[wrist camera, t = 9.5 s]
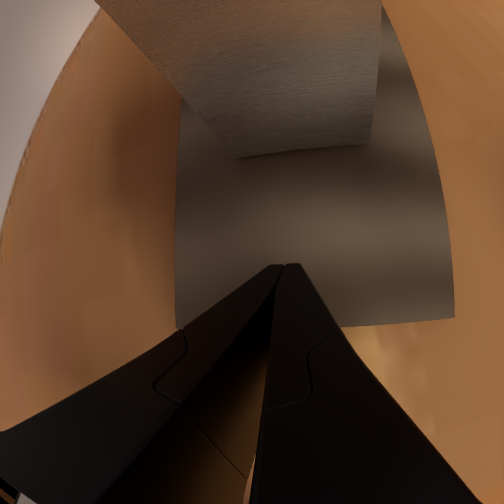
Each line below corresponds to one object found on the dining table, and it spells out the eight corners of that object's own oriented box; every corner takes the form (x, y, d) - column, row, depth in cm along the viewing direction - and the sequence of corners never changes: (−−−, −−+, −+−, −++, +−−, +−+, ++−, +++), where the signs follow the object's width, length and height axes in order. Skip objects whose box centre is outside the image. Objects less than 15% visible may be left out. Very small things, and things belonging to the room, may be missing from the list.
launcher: (447, 316, 14) (558, 335, 5) (186, 326, 18) (50, 345, 8) (356, -34, 18) (344, -121, 9) (202, -10, 22) (156, -84, 12)
